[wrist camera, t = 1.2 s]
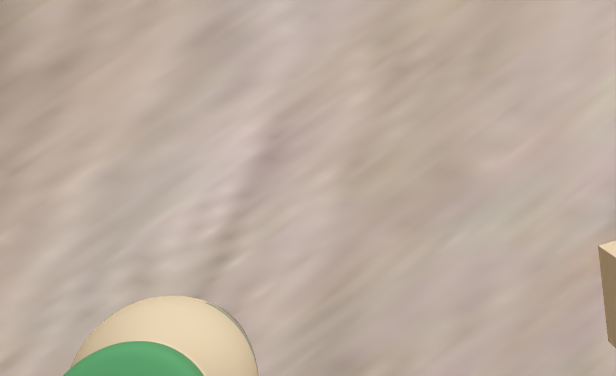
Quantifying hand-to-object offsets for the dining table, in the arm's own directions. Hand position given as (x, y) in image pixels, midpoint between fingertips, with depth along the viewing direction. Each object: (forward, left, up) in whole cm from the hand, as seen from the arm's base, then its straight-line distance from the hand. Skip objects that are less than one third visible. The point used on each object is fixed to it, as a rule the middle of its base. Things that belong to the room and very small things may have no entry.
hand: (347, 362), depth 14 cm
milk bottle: (-2, -4, -22) cm, 23 cm away
